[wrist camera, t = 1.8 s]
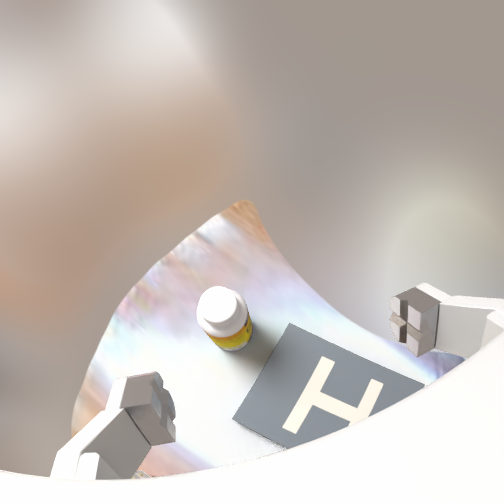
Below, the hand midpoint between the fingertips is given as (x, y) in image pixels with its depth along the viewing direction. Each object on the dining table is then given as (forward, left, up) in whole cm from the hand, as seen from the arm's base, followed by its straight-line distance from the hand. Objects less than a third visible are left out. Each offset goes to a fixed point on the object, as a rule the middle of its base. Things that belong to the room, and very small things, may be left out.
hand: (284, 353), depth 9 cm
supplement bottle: (+10, +2, -29) cm, 31 cm away
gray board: (-5, -5, -28) cm, 29 cm away
